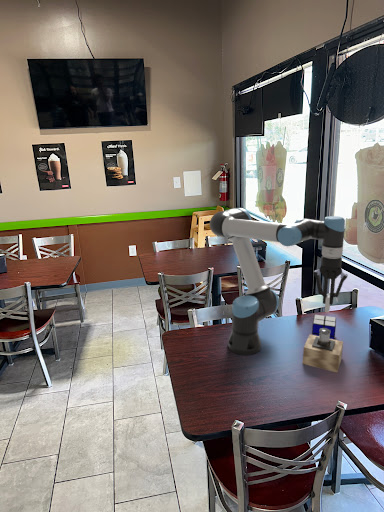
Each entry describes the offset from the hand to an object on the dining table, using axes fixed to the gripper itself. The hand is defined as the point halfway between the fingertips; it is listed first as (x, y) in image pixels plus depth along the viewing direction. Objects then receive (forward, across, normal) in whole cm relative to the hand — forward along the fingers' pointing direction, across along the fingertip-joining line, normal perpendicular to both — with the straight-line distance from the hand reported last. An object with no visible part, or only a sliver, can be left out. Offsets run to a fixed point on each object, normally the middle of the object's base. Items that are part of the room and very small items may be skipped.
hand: (327, 311), depth 146 cm
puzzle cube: (+24, -3, +19) cm, 31 cm away
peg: (+17, 0, 0) cm, 17 cm away
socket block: (+24, 0, 0) cm, 24 cm away
